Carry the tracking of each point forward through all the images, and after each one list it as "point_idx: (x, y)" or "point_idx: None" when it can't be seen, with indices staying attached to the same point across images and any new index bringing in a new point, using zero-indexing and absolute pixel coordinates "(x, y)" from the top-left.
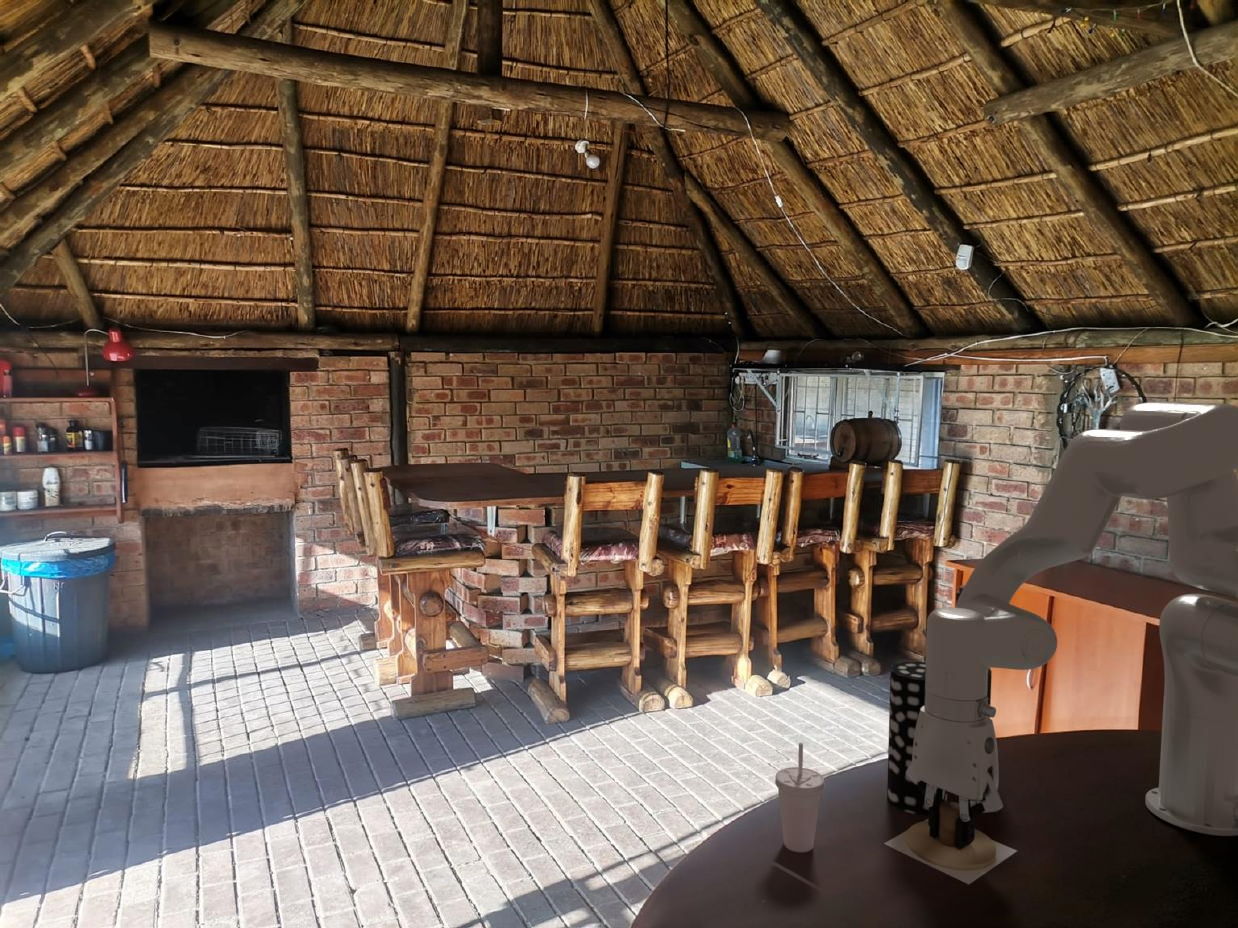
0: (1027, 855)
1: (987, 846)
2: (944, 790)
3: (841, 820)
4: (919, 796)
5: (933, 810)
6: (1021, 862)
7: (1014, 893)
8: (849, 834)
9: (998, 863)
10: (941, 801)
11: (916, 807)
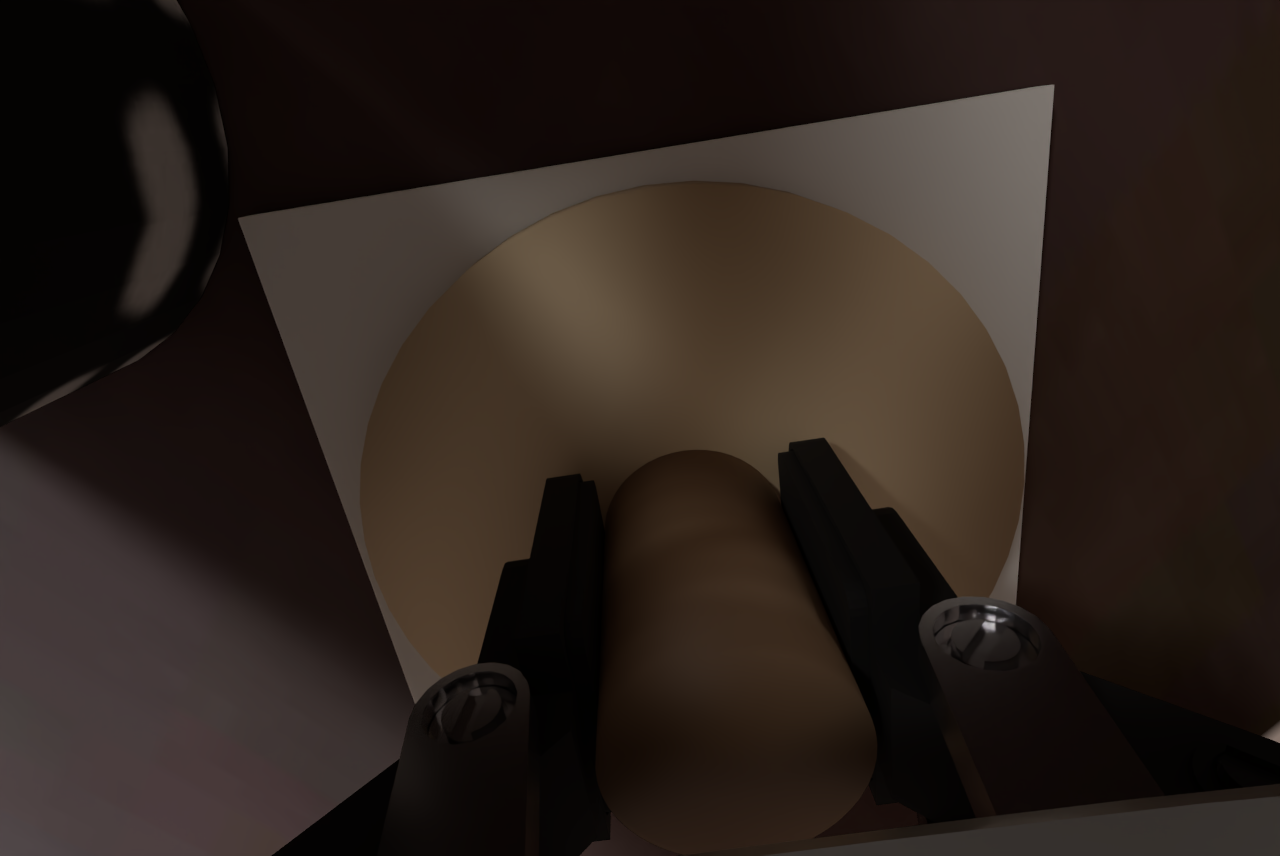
0: (1113, 23)
1: (918, 357)
2: (533, 804)
3: (85, 777)
4: (51, 372)
5: (609, 830)
6: (1117, 182)
7: (1218, 551)
8: (258, 830)
9: (1030, 398)
10: (579, 765)
11: (126, 354)
